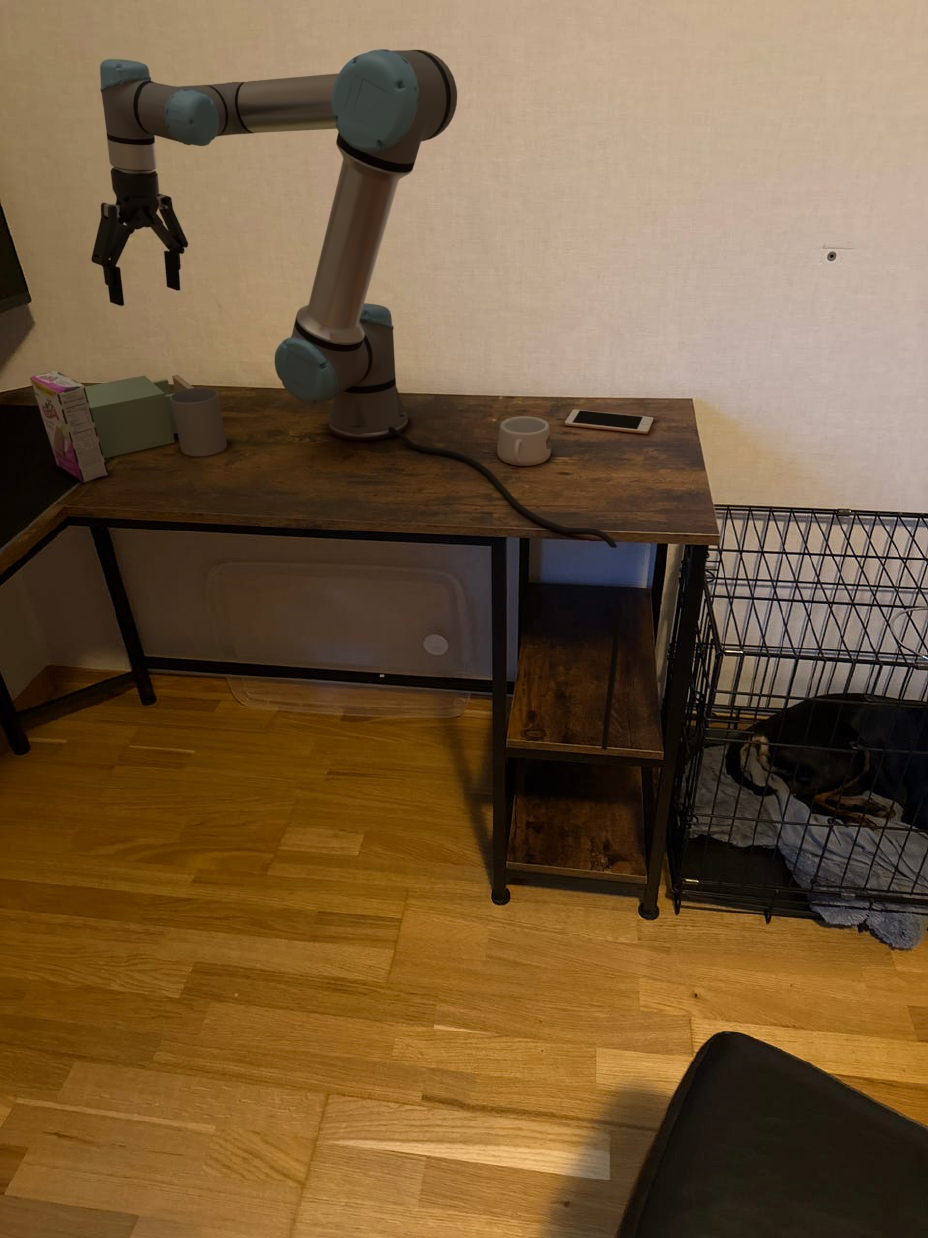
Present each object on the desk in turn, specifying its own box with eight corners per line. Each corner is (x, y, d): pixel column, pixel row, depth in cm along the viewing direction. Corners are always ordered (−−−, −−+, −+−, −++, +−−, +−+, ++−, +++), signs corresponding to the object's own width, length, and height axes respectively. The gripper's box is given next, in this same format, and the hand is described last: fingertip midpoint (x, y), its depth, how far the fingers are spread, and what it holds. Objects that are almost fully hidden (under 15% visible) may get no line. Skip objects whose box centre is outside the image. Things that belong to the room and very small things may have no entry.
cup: (214, 457, 157) (205, 404, 151) (173, 454, 158) (161, 401, 153) (234, 440, 164) (225, 388, 158) (194, 437, 165) (184, 386, 160)
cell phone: (647, 434, 162) (647, 431, 162) (564, 425, 167) (564, 422, 167) (653, 420, 169) (653, 417, 168) (573, 411, 173) (573, 408, 173)
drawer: (207, 408, 176) (200, 370, 172) (227, 424, 168) (220, 385, 164) (117, 427, 168) (108, 387, 164) (134, 445, 160) (124, 404, 156)
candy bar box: (54, 466, 155) (27, 376, 146) (81, 458, 158) (56, 369, 149) (82, 484, 148) (56, 391, 139) (110, 475, 151) (86, 383, 142)
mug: (503, 443, 160) (504, 412, 157) (555, 448, 158) (556, 417, 154) (487, 469, 150) (487, 437, 147) (542, 475, 148) (543, 442, 145)
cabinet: (155, 422, 172) (144, 375, 167) (175, 442, 163) (164, 392, 158) (79, 438, 166) (66, 390, 160) (96, 460, 157) (82, 409, 151)
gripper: (171, 157, 156) (180, 277, 169) (56, 171, 138) (76, 304, 151) (203, 166, 153) (209, 287, 166) (90, 181, 135) (107, 316, 148)
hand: (146, 296), depth 158 cm, fingers open, 13 cm apart
